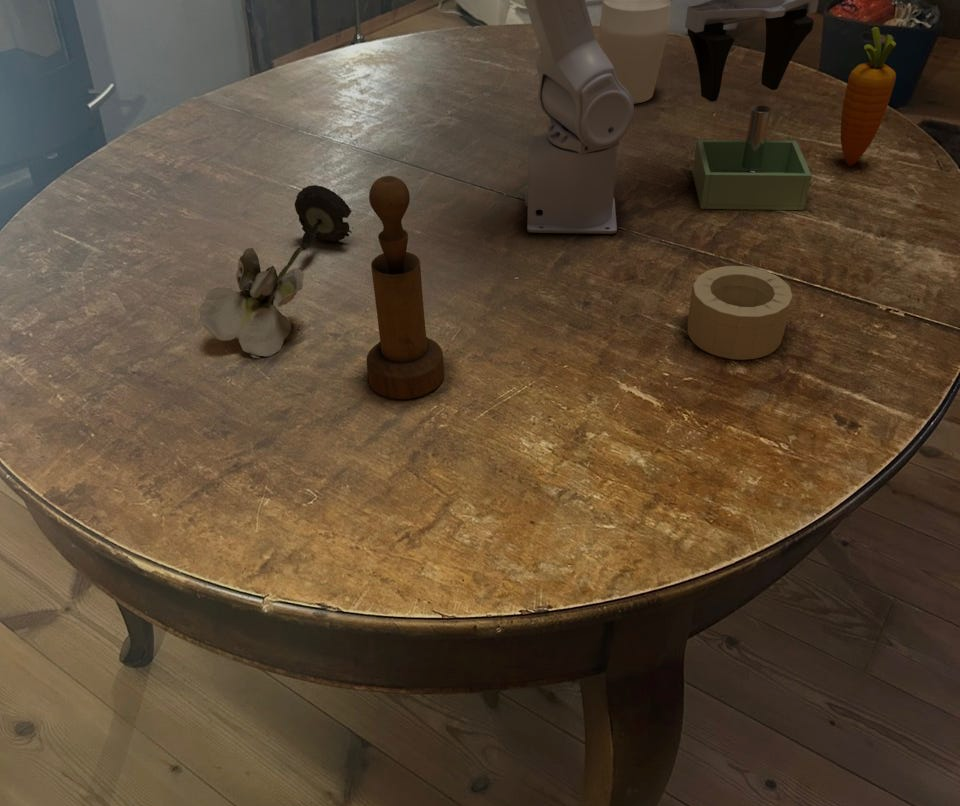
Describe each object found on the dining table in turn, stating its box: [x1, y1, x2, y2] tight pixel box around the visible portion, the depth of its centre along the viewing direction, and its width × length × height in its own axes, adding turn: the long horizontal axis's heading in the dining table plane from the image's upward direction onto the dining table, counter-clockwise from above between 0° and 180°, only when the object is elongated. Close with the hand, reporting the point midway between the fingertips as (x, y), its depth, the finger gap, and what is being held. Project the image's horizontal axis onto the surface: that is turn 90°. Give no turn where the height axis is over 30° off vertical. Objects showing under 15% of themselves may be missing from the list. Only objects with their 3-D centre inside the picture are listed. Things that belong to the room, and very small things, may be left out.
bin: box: [692, 139, 813, 211], centre depth 104 cm, size 11×9×4 cm
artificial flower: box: [198, 184, 354, 359], centre depth 88 cm, size 9×22×10 cm, turn 160°
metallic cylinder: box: [742, 104, 772, 173], centre depth 102 cm, size 2×3×9 cm
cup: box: [599, 0, 672, 105], centre depth 123 cm, size 9×9×12 cm
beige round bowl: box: [686, 265, 794, 361], centre depth 83 cm, size 8×8×4 cm
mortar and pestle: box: [366, 175, 445, 400], centre depth 74 cm, size 7×6×18 cm
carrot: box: [840, 26, 897, 167], centre depth 104 cm, size 5×5×15 cm
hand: (739, 92), depth 99 cm, fingers open, 7 cm apart
